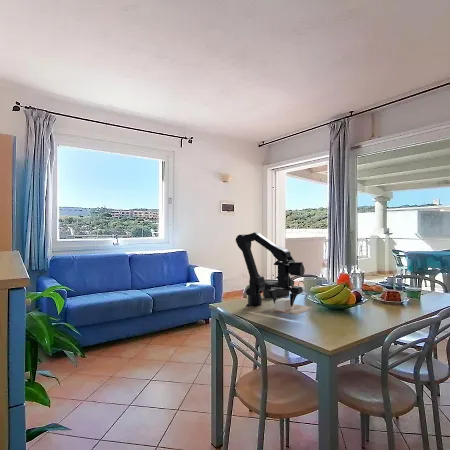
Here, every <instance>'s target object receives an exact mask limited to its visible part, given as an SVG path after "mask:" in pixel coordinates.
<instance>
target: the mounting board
mask: <svg viewBox="0 0 450 450" xmlns="http://www.w3.org/2000/svg"><path fill="white" fill-rule="evenodd" d="M313 308H314V307H313V306H307V305H302V304H296V303H293V306H292V307H291V309H288V310H286V311H279V310H275V307H274V308H271V309H270V311H273V312H278V313H283V314H289V315H295V316H300V315H301V314H304V313H305V312H307V311H309V310H311V309H313Z"/></svg>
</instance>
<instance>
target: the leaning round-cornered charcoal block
mask: <svg viewBox="0 0 450 450" xmlns="http://www.w3.org/2000/svg"><path fill="white" fill-rule="evenodd" d="M265 283H266V284H268V283H276V284H278V280H272V281H271V280H269V281H265ZM266 284H265V285H266ZM280 288H282V287H280ZM285 289H287V288H285ZM262 297H263V298H264V299H270V298H271V299H272V297H271V295H270V294H269V292H268V291H267V290H265V289H264V290H263V292H262ZM276 297H278V298H283V297H290V291H287V290H280V289H277V292H276Z"/></svg>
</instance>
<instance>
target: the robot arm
mask: <svg viewBox="0 0 450 450" xmlns="http://www.w3.org/2000/svg"><path fill="white" fill-rule="evenodd" d="M252 242H256V243H258V244H259V245H261V246H262V247H263V248H265V249H266V250H268V251H269V252H270V253H271V254H272V256H273V257H274V258H275V259H276V261H275V262H273V265H274V266H277V276H276V277H275V278H276V280H277V281H278V284H276V283H268V284H266V283H265V282H266V281H265V278H264V276H261V275H260V274H259V271H258V268H257V265H256V260H255V259H254V256H253V255H254V254H253V251H252ZM235 243H236V244H237V247H238V249H240V251H241V252H242V256H243V257H244V262H245V264H246V267H247V270H248V271H247V272H248V275H249V282H248V283H249V287H248V288H247V289H246V290H245V294H246V295H247V297H248V298H247V304H246V306H247V307H252V308H256V307H257V306H259V307H260V306H262V304H263V303H262V294H263V290H264V289H265V290H267V291H268V292H269V294H270V295H271V297H272V298H271V300H272V301H273V304H274V305H275V301H276V300H277V298H276V292H277V289H280V290H287V291H289V299H290V305H291V307H292V306H293V304H295V300H296V298H297V296H298V295H301V294H302V293H304V292H303V291H304V289H303V287H302V286H299V285H298V286H297V285H295V280H294V279H291V276H296V277H304V275H305V266H304V264H303V262H302V261H299V262H298V261H295V260H294V258H293V256H292V254H291V252H290V250H289V249H287V248H284V247H282V246H280V245H277V244H275V243H274V242H272V241H271V240H270V239H268V238H267V237H265V236H264V235H263V234H262V233H260V232H259V231H258V232H257V231H255V232H252V233H249V234H238V235H237V236H236V238H235ZM265 284H266V285H265ZM280 287H282V288H280ZM285 288H287V289H285Z"/></svg>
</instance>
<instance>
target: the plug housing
mask: <svg viewBox="0 0 450 450" xmlns="http://www.w3.org/2000/svg"><path fill="white" fill-rule="evenodd" d="M274 308H275V310H279V311H286V310H288V309H291V305H290V298H287V297H286V298H284V297H280V298H278V299H276V301H275V304H274Z"/></svg>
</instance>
